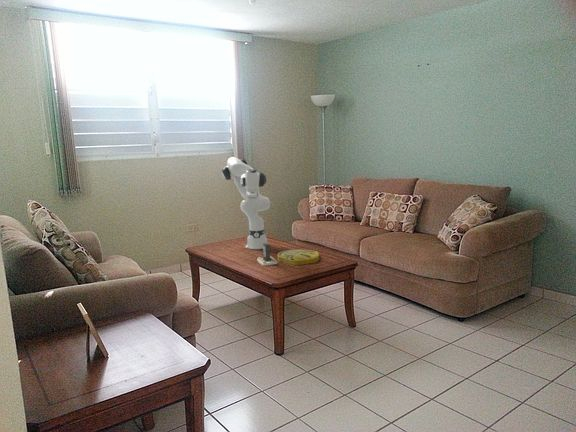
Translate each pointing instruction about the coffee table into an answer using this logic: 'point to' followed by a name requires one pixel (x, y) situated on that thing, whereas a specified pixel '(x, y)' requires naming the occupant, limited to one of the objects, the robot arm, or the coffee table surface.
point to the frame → (266, 252)
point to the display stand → (261, 261)
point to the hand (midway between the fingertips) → (253, 213)
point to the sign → (298, 256)
